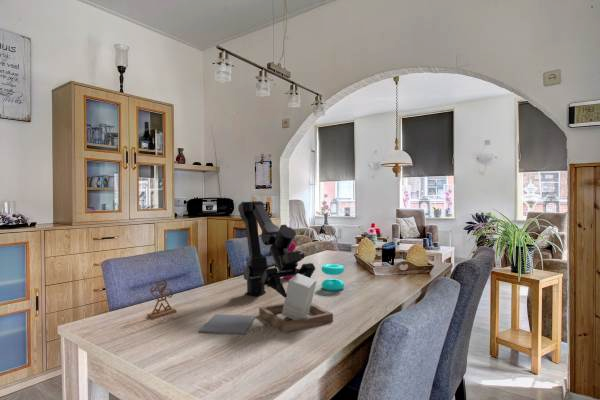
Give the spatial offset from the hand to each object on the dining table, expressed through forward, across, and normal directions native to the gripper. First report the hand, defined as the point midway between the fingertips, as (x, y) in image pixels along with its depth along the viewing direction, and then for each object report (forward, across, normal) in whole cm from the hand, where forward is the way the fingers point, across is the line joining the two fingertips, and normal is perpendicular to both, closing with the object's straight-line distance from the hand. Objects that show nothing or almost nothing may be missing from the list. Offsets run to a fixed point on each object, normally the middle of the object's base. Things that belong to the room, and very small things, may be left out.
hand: (298, 294), depth 112 cm
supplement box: (+4, 0, +6) cm, 7 cm away
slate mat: (0, -21, +11) cm, 24 cm away
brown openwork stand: (-16, -38, +26) cm, 48 cm away
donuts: (-13, +32, +23) cm, 42 cm away
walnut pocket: (+4, 0, +7) cm, 9 cm away
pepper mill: (-32, +25, +41) cm, 58 cm away
